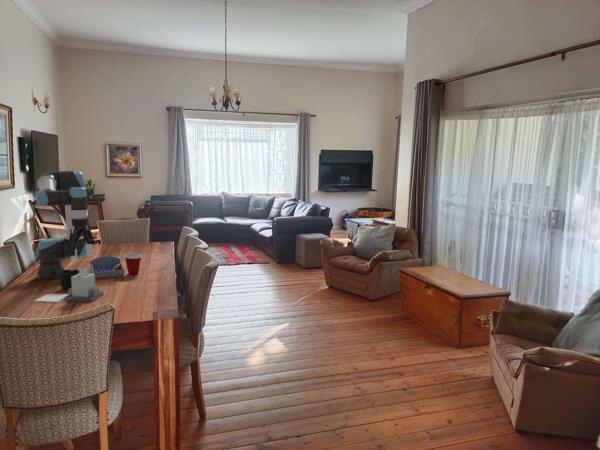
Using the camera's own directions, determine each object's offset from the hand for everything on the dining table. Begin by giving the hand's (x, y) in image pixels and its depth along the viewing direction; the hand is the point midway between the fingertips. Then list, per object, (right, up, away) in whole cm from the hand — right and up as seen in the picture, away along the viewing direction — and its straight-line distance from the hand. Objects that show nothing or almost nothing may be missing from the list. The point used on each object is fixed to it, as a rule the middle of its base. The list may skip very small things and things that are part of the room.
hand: (82, 259), depth 225 cm
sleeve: (0, -18, +3) cm, 19 cm away
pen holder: (-16, -18, +19) cm, 31 cm away
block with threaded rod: (0, -20, +3) cm, 21 cm away
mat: (-16, -20, +1) cm, 26 cm away
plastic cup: (+7, -14, +52) cm, 54 cm away
